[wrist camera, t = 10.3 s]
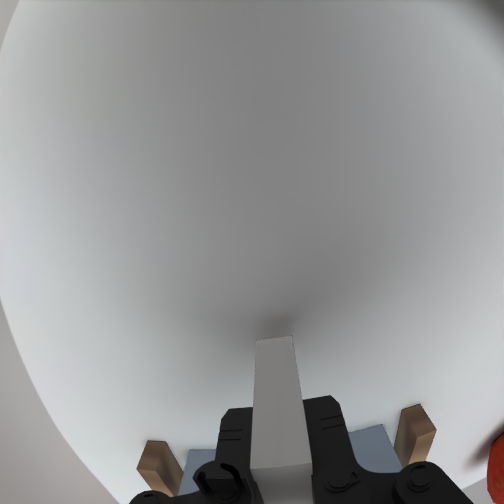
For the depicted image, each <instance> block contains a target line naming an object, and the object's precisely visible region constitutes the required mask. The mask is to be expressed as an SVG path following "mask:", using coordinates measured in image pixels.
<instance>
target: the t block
mask: <svg viewBox="0 0 504 504" xmlns="http://www.w3.org/2000/svg"><path fill="white" fill-rule="evenodd" d="M348 434H349V438H350V441H351V445H352V448H353V452H354V455H355V458H356V460H357V462H358V464H359V465H360V466H361V467H363V468H364V469H366V470H368V471H371V472H377V473H394V472H400V471H401V470H402V469H403V468H402V466H401V463H400V461H399V459H398V457H397V455H396V452H395V450H394V448H393V446H392V444H391V441H390V439H389V437H388V435H387V433H386V431H385V429H384V427H383V424H380V425H377V426H373V427H370V428H366V429H362V430H358V431H354V432H350V433H348ZM215 454H216V450H189V454H188V457H187V461H186V465H185V469H184V473H183V477H182V481H181V485H180V489H179V493H178V496H179V495H185V494H190V493H193V492H196V491H198V490H200V489H199V488H198V486H197V485H196V483H195V482H194V480H193V479H192V477H193V475H194V473H195V471H196V470H197V469H198V468H199V467H200V466H202V465H203V464H205V463H208V462H210V461H213V460H215Z"/></svg>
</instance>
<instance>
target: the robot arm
mask: <svg viewBox="0 0 504 504" xmlns="http://www.w3.org/2000/svg"><path fill="white" fill-rule="evenodd" d="M192 479H193V480H194V482H195V483H196V485H197V486H198V488H199V489H200V490H198V491H196V492H193V493H190V494H185V495H179V496H173V497H169V496H168V495H167V494H165V493H163V492H161V491H155V490H150V491H144V492H142V493H140V494H138V495H136V496H135V497H134V498H133V499H132V500H131V502H130V503H129V504H473V502H472V501H471V500H470V499H469V498H468V497H467V496H466V495H465V494H464V493H463V492H462V491H461V490H460V489H459V487H458V486H457V485H456V484H455V483H454V482H453V481H452V480H451V479H450V478H449V477H448V476H447V475H446V474H445V472H444V471H443V470H442V469H441V468H440V467H438V466H437V465H436V464H434V463H431V462H427V461H419V462H414V463H412V464H409V465H407V466H406V467H404V468H403V469H402V470H401V471H400V472H394V473H377V472H371V471H368V470H366V469H364V468H363V467H361V466H360V465H359V464H358V462H357V460H356V458H355V455H354V452H353V448H352V445H351V441H350V438H349V434H348V431H347V428H346V425H345V421H344V418H343V414H342V411H341V408H340V404H339V403H338V402H337V401H336V400H335V399H334V398H333V397H332V396H331V395H328V396H323V397H317V398H311V399H305V400H302V394H301V388H300V382H299V375H298V369H297V363H296V358H295V352H294V346H293V340H292V335H291V336H285V337H278V338H271V339H263V340H256V356H255V378H254V400H253V407H247V408H234V409H228V411H227V412H226V414H225V415H224V416H223V418H222V419H221V425H220V433H219V436H218V442H217V448H216V454H215V460H213V461H210V462H208V463H205V464H203V465H202V466H200V467H199V468H198V469H197V470H196V471H195V473H194V475H193V477H192Z"/></svg>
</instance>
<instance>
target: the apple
mask: <svg viewBox="0 0 504 504" xmlns="http://www.w3.org/2000/svg"><path fill="white" fill-rule="evenodd" d="M487 490H488V492H489V494H490V496H491V498H492V500H493V502H494V503H496V504H504V433H503V434H502V435H501V436H500V437H499V438H498V439H497V440H496V441H495V442H494V443H493V445H492V446H491V449H490V454H489V460H488V467H487Z"/></svg>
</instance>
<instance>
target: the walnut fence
mask: <svg viewBox="0 0 504 504" xmlns="http://www.w3.org/2000/svg"><path fill="white" fill-rule="evenodd" d="M436 430H437V429H436V428H435V426H434V425H433V423H432V421H431V420H430V418H429V417H428V415H427V414H426V412H425V411H424V409H423V408H422V406H421V404H418V405H415V406H412V407H409V408H406V409H403V410H402V413H401V418H400V423H399V427H398V432H397V436H396V441H395V445H394V450H395V452H396V455H397V457H398V459H399V461H400V463H401V466H402V468H404V467H406V466H407V465H409V464H412V463H414V462H419V461H425V460H426V457H427V455H428V452H429V450H430V447H431V445H432V442H433V439H434V436H435V433H436ZM136 469H137V471H138V472H139V473H140V475H141V476H142V477H143V479H144V480H145V481H146V483H147V484H148V485H149V486H150V488H151V489H152V490H155V491H161V492H163V493H165V494H167V495H168V496H169V497H173V496H178V493H179V489H180V485H181V481H182V477H183V471H182V470H181V468H180V466H179V465H178V463H177V461H176V459H175V458H174V456H173V454H172V452H171V451H170V449H169V447H168V445H167V443H166V442H160V441H147V443H146V446H145V448H144V451H143V453H142V456H141V458H140V461H139V463H138V466H137V468H136Z"/></svg>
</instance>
